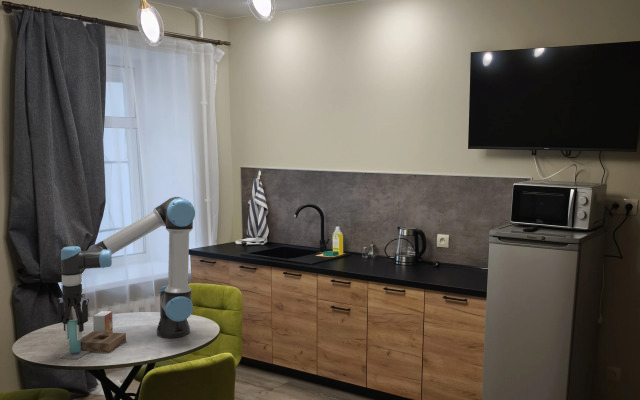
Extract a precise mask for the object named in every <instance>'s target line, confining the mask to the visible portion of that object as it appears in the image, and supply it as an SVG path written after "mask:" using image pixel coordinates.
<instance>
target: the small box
mask: <svg viewBox="0 0 640 400" xmlns="http://www.w3.org/2000/svg"><path fill="white" fill-rule="evenodd" d="M92 319H93V321H92V322H93V326H92V327H93V332H112V333H114V330H113V329H114V328H113V326H114V325H113V311H111V310H110V311H109V310H108V311H106V310H101V311H99V312H98V313H95V314H94V315H93V316H92Z"/></svg>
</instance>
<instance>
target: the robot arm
mask: <svg viewBox="0 0 640 400" xmlns="http://www.w3.org/2000/svg"><path fill="white" fill-rule="evenodd" d="M195 217H196V210H195V206H194V205H193V204H192V202H191V201H189V200H188V199H186V198H183V197H180V196H174V197H170V198H168V199H167V200H165V201H164V202H163V203H161V204H159V205H157V206H156V207H154V208H153V211H151V212H150V213H148V214H146V215H145V216H143V217H141V218H140V219H138V220H136V221H134V222H132V223H131V224H129V225H127V226H126V227H124V228H122V229H120V230H119V231H117V232H115V233H113V234H111V235H110V236H108V237H106V238H104V239H103V240H102V241H99V242H98V243H95V244H92V245H90V246H89V247H88V249H87V250H81V249H82V248H81V247H80V246H77V245H75V246H74V245H73V246H64V247H62V249H61V250H60V265H61V267H60V268H61V284H62V285H61V289H62V290H61V291H62V292H61V293H62V294H63V295H62V297H59V298H56V300H55V301H56V304H57V314H58V322H59V323H62V324H63V331H64V332H65V340H67V341H69V335H68V321H69V320H70V317H71V313H72V312H71V311H72V307H73V309H74V312H75V315H76V316H75V317H76V319H77V321H78V324H77V325H76V327H77V340H80V339H82V337H83V332H84V330H85V325H84V324H85V323H87V322H89V302H90V298H85V297H84V296H83V294H82V293H83V284H82V282H83V281H82V278H83V277H82V270H89V269H90V270H91V269H104V268H109V267H112V264H113V262H112V261H113V260H112V259H113V257H112V256H113V255H114V254H116V253H117V252H119V251H120V250H123V249H124V248H125V247H128V246H130V245H131V244H132V243H135V242H136V241H138V240H141V238H143V237H145V236H147V235H148V234H150V233H152V232H154V231H155V230H157V229H158V228H160V227H165V230H167V232H168V274H167V275H168V278H167V282H168V283H167V284H166V285H162V286H160V287H159V312H160V313H159V314H160V315H159V317H160V318H159V322H158V324H157V328H156V336H157V337H160V338H163V339H176V338H181V337H184V336H187V335H189V334H190V333H191V332H190V331H191V327H190V324H189V320H188V319H189V318H190V317H191V314H193V310H194V305H193V301H192V288H191V287H190V286H189V260H190V259H189V256H190V252H189V251H190V233H191V232H192V230H193V229H194V227H193V226H194V219H195ZM189 332H190V333H189ZM188 333H189V334H188Z"/></svg>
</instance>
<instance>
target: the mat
mask: <svg viewBox="0 0 640 400" xmlns="http://www.w3.org/2000/svg"><path fill="white" fill-rule="evenodd" d="M89 353H90V352H89V351H80V352H77V353H70V352H69V351H68V352H65V353H63V355H61V356H59V359H63V360H65V359H66V360H79V359H81V358H83V357H85V356H86V355H88V354H89Z"/></svg>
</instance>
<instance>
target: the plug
mask: <svg viewBox="0 0 640 400" xmlns="http://www.w3.org/2000/svg"><path fill="white" fill-rule="evenodd" d="M77 324H78V321H77V318H73V319H69V321H68V335H69V339H68V348H69V349H68V350H69V351H68V352H70V353H77V352H80V351H81V343H80V340H77V327H76V325H77Z"/></svg>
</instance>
